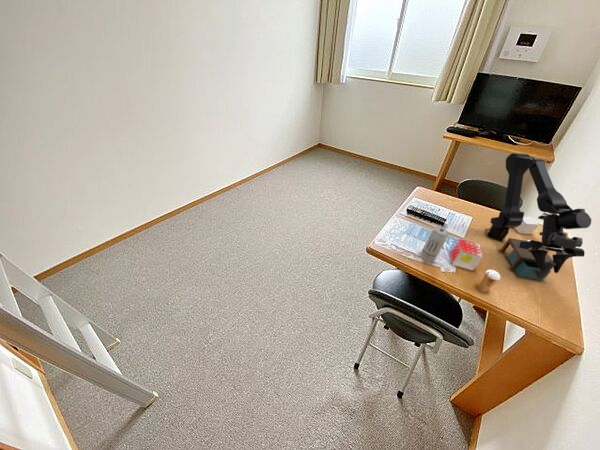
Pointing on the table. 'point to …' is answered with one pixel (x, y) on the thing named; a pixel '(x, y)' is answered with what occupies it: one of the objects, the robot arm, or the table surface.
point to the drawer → (530, 268)
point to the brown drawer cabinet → (521, 253)
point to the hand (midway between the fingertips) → (548, 271)
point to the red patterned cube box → (466, 254)
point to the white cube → (527, 226)
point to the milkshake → (488, 280)
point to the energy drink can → (434, 244)
